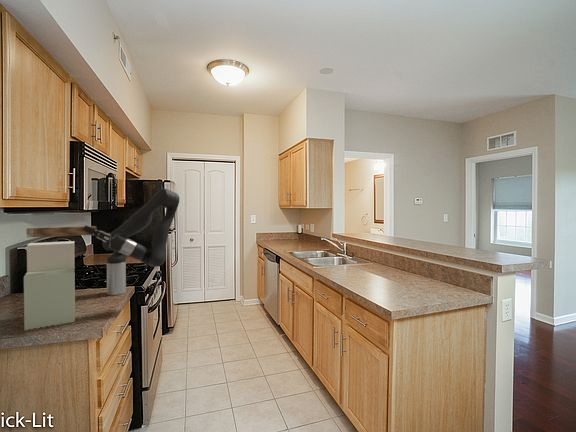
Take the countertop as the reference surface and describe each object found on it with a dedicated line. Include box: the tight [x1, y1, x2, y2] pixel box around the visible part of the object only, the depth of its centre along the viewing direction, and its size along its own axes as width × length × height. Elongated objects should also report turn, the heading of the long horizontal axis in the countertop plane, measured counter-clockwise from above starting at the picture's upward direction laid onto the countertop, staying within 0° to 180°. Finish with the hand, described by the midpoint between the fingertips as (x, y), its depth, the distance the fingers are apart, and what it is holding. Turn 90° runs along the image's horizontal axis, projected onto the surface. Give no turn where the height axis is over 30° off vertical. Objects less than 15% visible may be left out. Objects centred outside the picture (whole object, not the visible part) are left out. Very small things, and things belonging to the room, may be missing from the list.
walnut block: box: [26, 225, 98, 239], centre depth 128 cm, size 24×4×4 cm, turn 125°
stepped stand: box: [23, 240, 76, 331], centre depth 130 cm, size 20×16×32 cm
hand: (84, 227), depth 132 cm, fingers closed on walnut block, 3 cm apart
